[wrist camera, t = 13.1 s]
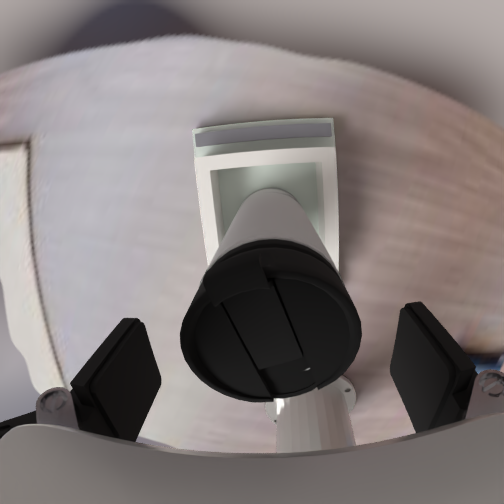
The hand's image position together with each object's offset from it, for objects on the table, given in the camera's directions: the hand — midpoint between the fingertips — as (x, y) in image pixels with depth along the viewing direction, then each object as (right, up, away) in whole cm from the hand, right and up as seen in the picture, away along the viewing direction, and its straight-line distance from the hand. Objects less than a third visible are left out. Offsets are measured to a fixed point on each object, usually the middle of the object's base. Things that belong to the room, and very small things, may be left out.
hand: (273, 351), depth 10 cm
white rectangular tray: (+1, +7, +19) cm, 20 cm away
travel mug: (+1, +7, +18) cm, 19 cm away
